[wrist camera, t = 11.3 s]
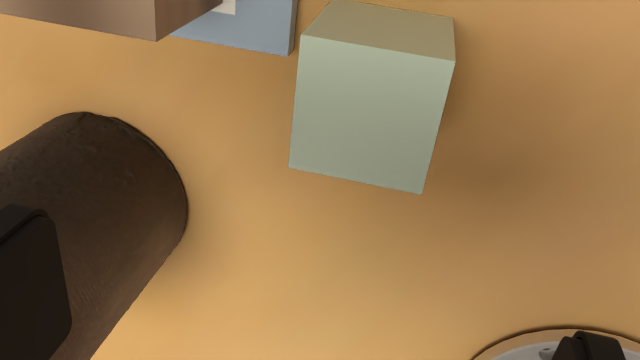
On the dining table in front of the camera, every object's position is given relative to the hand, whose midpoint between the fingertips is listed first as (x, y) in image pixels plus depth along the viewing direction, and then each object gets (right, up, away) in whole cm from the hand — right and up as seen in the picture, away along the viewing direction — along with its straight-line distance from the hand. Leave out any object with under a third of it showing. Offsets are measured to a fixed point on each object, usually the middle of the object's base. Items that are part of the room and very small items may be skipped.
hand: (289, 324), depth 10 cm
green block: (+3, +8, +13) cm, 16 cm away
